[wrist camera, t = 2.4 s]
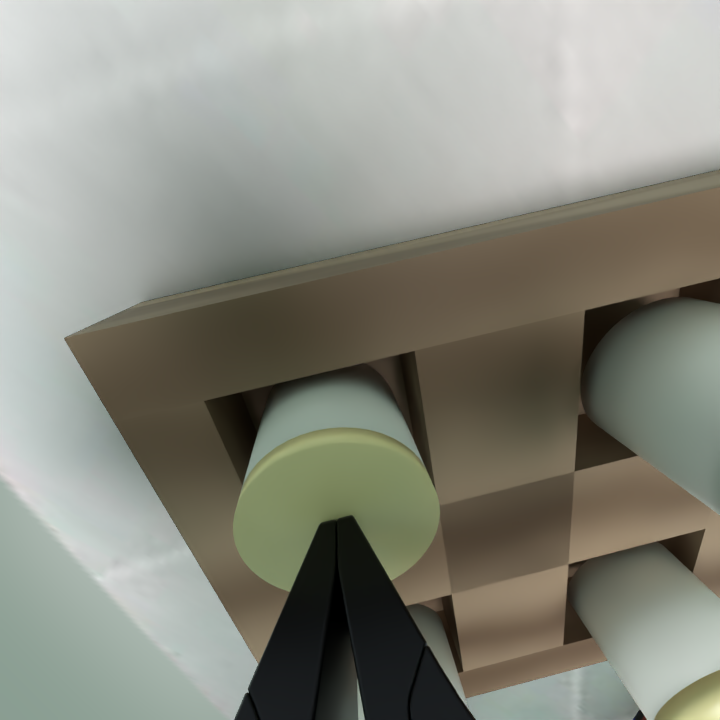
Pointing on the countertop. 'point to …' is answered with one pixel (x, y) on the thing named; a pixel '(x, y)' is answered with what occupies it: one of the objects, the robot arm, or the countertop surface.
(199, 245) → the countertop surface
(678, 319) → the dark button
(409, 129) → the countertop surface
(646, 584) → the lit button
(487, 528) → the wooden grid tray
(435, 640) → the dark button
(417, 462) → the lit button
